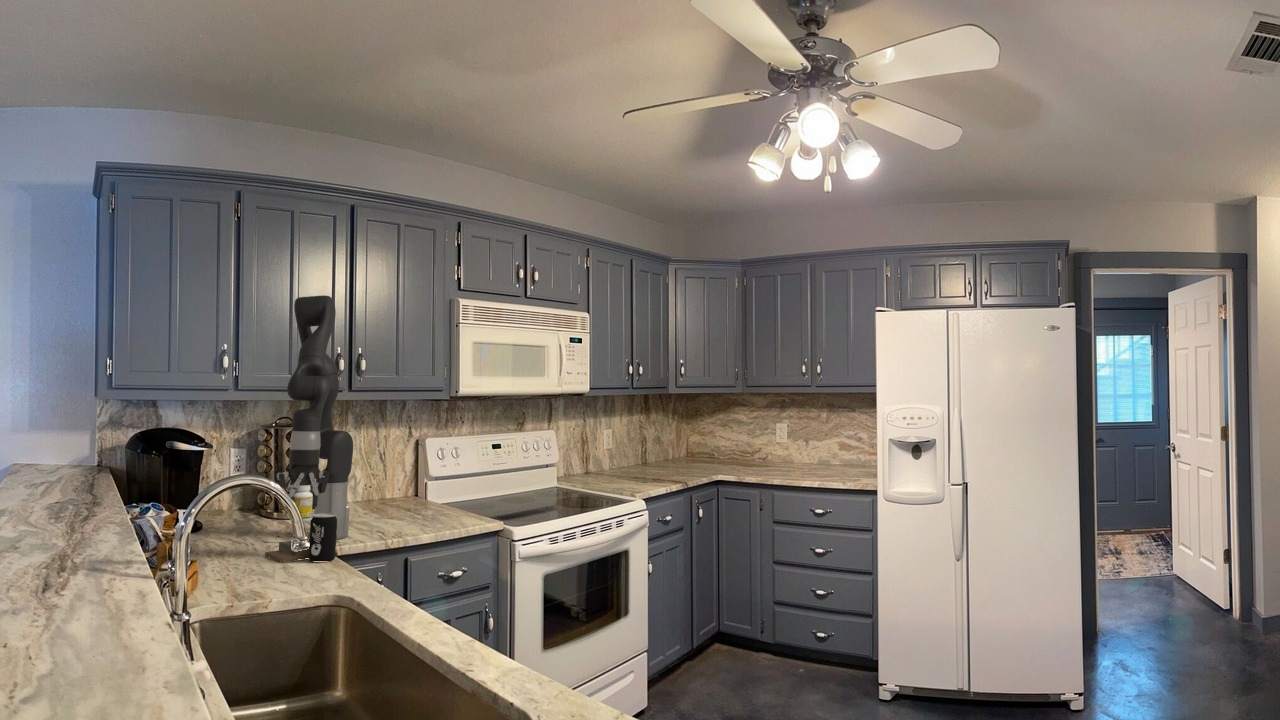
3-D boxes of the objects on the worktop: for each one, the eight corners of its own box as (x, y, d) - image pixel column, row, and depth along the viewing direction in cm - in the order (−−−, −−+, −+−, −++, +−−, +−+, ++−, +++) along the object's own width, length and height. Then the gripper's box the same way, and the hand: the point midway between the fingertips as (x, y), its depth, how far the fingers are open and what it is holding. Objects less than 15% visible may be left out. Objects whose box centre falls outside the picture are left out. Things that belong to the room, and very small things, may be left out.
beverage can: (337, 561, 185) (339, 515, 186) (310, 564, 181) (312, 517, 182) (333, 557, 190) (335, 512, 191) (306, 559, 187) (309, 513, 188)
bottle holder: (316, 549, 200) (317, 536, 200) (335, 555, 193) (336, 541, 193) (264, 556, 189) (265, 542, 189) (283, 562, 182) (283, 548, 182)
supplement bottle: (314, 521, 192) (316, 485, 192) (293, 522, 188) (295, 486, 189) (307, 518, 195) (309, 483, 196) (286, 520, 192) (289, 484, 192)
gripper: (324, 446, 201) (320, 506, 200) (272, 447, 190) (267, 510, 189) (337, 448, 196) (333, 509, 195) (284, 448, 185) (279, 513, 184)
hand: (301, 509), depth 192 cm, fingers closed on supplement bottle, 5 cm apart
